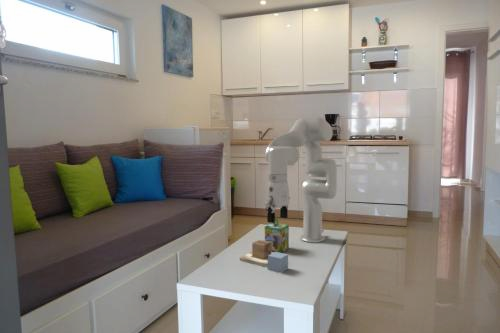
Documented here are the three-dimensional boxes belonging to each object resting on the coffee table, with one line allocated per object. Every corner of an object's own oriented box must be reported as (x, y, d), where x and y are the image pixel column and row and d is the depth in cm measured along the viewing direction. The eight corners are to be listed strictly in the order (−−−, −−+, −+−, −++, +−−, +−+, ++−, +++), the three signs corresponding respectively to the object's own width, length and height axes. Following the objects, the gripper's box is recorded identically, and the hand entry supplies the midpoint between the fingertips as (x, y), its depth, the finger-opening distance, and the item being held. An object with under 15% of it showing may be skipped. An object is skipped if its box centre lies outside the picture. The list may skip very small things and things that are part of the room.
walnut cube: (260, 252, 167) (260, 239, 167) (271, 255, 164) (271, 242, 163) (252, 256, 163) (252, 243, 162) (263, 259, 159) (263, 245, 159)
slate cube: (275, 265, 156) (275, 251, 155) (288, 268, 152) (288, 254, 152) (267, 269, 151) (267, 255, 150) (280, 273, 147) (280, 258, 147)
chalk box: (281, 253, 171) (281, 222, 170) (264, 250, 176) (264, 219, 174) (289, 247, 179) (289, 217, 178) (272, 245, 184) (272, 215, 182)
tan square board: (257, 252, 173) (257, 248, 173) (283, 257, 165) (283, 254, 165) (239, 260, 162) (239, 257, 162) (266, 267, 154) (266, 263, 153)
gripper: (274, 181, 139) (274, 225, 141) (296, 176, 153) (296, 217, 154) (257, 179, 143) (257, 223, 145) (280, 175, 157) (280, 215, 159)
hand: (277, 220), depth 150 cm, fingers open, 9 cm apart
